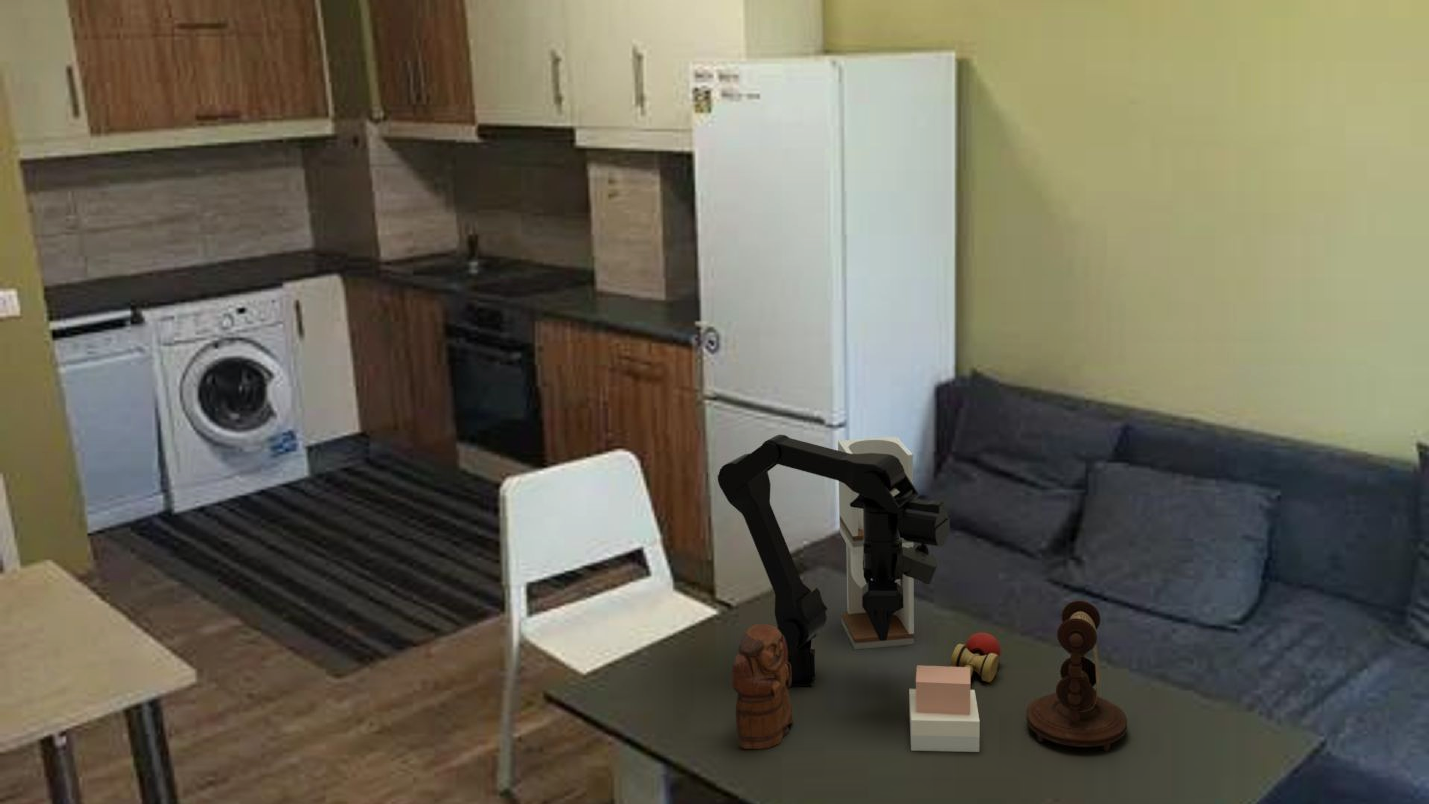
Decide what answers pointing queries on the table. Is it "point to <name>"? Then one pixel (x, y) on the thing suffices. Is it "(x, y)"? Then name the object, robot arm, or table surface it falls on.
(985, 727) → the table surface
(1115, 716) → the brown upright round-based piece
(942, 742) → the white foam block
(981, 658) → the kendama
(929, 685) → the coral brick
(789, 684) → the wooden figurine
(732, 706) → the table surface
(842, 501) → the white shelf stand
